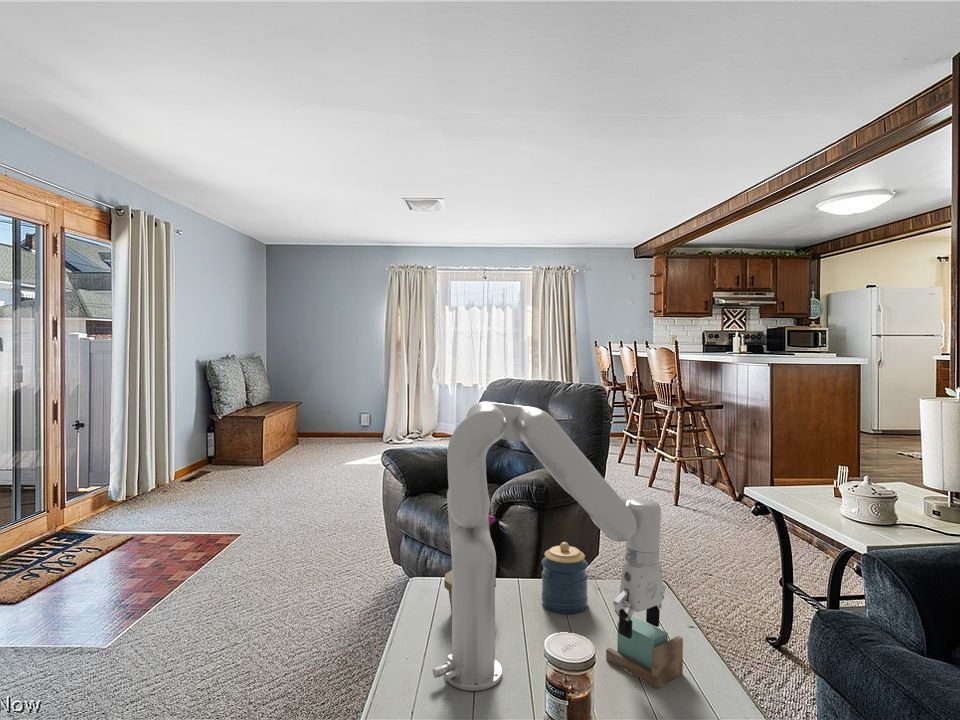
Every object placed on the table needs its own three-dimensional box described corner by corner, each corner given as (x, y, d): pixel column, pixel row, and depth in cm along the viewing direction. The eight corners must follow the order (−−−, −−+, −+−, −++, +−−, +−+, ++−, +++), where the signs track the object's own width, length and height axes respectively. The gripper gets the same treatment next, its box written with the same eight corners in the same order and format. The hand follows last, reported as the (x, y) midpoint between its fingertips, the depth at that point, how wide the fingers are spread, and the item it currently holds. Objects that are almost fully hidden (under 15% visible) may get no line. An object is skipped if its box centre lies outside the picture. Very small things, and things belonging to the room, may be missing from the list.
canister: (556, 618, 150) (557, 553, 150) (533, 599, 162) (533, 538, 162) (597, 609, 155) (597, 546, 155) (571, 591, 167) (571, 532, 167)
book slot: (656, 688, 119) (656, 651, 119) (606, 660, 130) (606, 625, 130) (682, 673, 124) (682, 638, 124) (632, 647, 136) (632, 614, 135)
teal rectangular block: (653, 680, 122) (654, 639, 122) (617, 660, 130) (617, 622, 130) (667, 673, 125) (667, 632, 125) (631, 653, 133) (631, 616, 133)
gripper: (630, 568, 119) (627, 648, 119) (679, 553, 129) (676, 626, 129) (603, 557, 125) (600, 633, 125) (651, 543, 135) (649, 614, 135)
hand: (639, 630), depth 127 cm, fingers open, 9 cm apart
